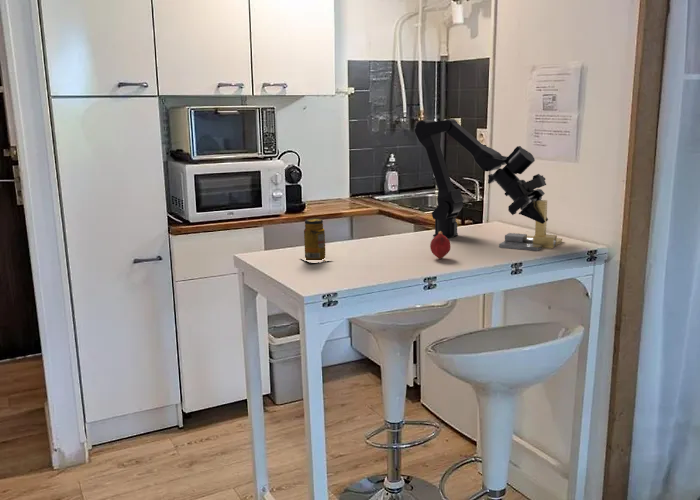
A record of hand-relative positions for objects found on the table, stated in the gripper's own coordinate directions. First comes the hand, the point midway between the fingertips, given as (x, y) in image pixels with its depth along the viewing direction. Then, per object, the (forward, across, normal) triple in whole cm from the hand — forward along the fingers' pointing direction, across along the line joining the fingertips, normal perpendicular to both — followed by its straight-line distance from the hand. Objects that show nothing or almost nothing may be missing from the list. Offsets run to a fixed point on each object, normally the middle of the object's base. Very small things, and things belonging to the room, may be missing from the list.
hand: (545, 221), depth 201 cm
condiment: (-33, -45, +44) cm, 71 cm away
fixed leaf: (+2, -2, +8) cm, 9 cm away
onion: (-10, -28, +21) cm, 36 cm away
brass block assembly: (+3, +3, +7) cm, 9 cm away
